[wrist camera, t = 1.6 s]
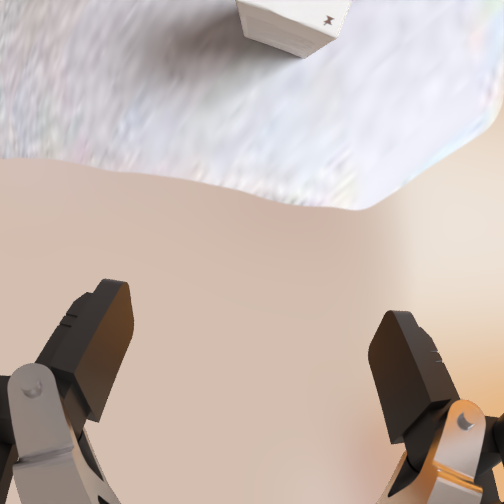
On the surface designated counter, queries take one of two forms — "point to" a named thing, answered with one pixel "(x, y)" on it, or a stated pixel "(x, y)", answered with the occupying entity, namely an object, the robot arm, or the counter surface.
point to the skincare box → (293, 23)
